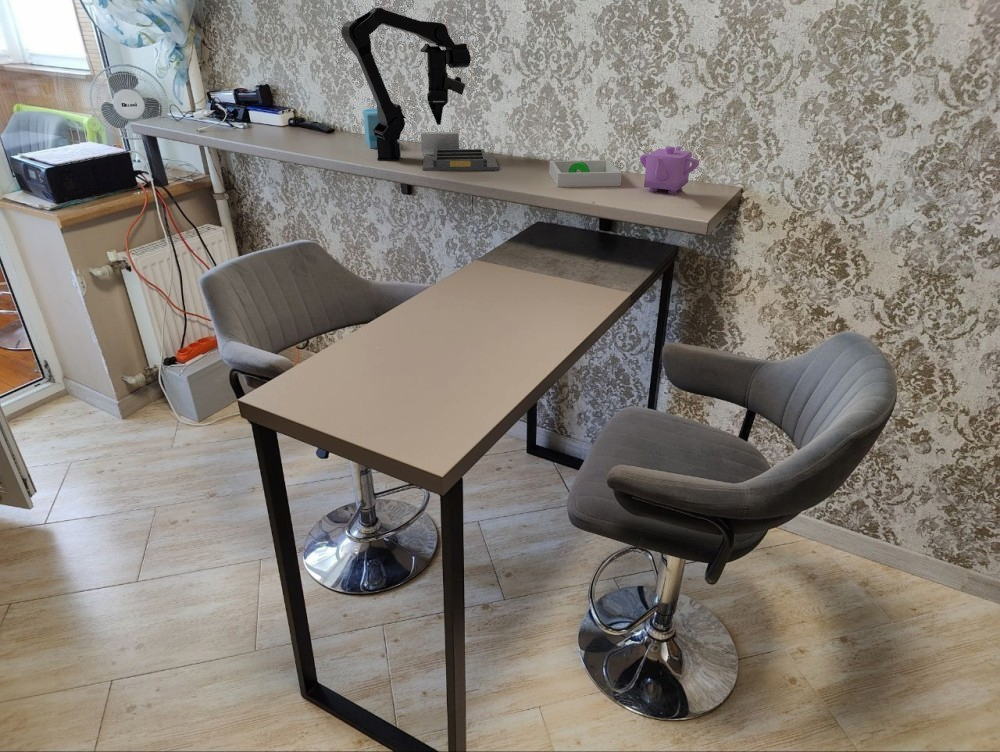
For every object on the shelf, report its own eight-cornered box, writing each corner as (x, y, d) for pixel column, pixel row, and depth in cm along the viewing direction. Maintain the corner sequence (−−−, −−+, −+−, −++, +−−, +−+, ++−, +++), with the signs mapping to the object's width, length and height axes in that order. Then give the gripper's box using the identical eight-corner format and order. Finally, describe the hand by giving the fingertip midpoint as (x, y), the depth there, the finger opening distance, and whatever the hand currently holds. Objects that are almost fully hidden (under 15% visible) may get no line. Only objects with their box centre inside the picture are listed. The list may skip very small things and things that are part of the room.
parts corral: (557, 187, 183) (558, 173, 181) (549, 173, 198) (549, 160, 196) (620, 186, 184) (621, 172, 182) (607, 172, 199) (608, 160, 197)
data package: (384, 151, 228) (381, 113, 223) (370, 152, 227) (367, 113, 221) (379, 145, 238) (376, 108, 233) (365, 145, 237) (362, 108, 232)
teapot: (630, 184, 185) (634, 142, 180) (676, 182, 188) (681, 140, 183) (653, 198, 172) (658, 153, 167) (702, 195, 175) (709, 151, 170)
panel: (421, 156, 220) (420, 134, 217) (422, 155, 223) (421, 132, 219) (459, 156, 221) (458, 133, 218) (459, 154, 224) (458, 132, 220)
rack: (422, 171, 200) (422, 160, 199) (424, 159, 216) (423, 149, 214) (497, 170, 201) (497, 159, 200) (494, 158, 217) (494, 148, 215)
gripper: (464, 71, 202) (465, 126, 209) (463, 66, 218) (464, 118, 226) (426, 71, 201) (428, 127, 209) (427, 66, 218) (430, 118, 225)
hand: (439, 122), depth 217 cm, fingers open, 9 cm apart
